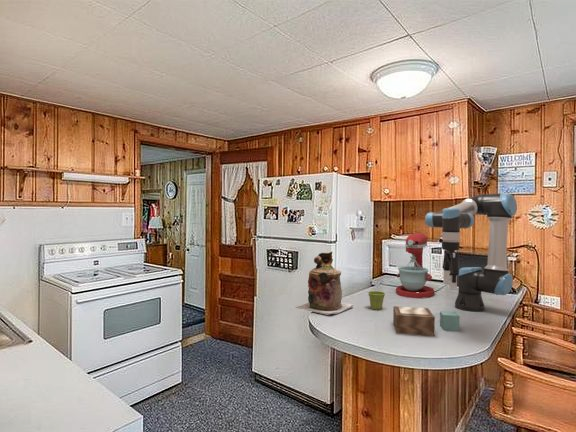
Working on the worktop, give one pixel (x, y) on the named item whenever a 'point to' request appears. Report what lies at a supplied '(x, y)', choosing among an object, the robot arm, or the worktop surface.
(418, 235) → the stand mixer
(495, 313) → the worktop surface
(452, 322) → the teal cube
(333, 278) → the cookie jar
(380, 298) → the plant pot
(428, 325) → the walnut block
